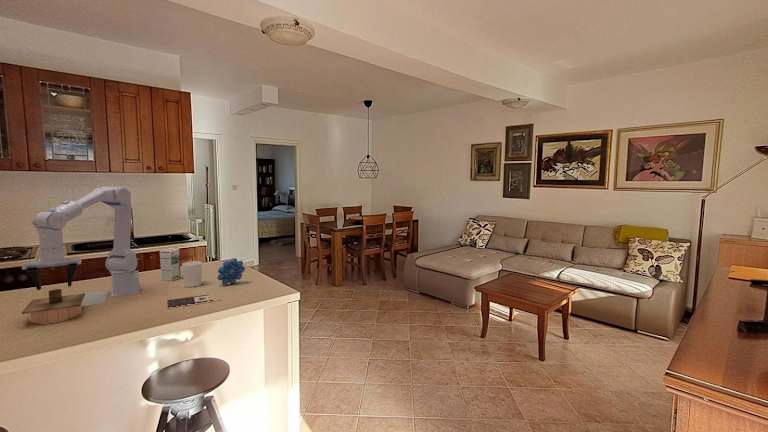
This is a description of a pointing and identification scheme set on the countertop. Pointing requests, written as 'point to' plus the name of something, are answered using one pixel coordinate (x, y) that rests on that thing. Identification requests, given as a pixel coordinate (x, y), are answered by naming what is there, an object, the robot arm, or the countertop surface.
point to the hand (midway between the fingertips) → (54, 287)
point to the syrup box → (170, 264)
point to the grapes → (231, 271)
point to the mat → (94, 298)
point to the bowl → (55, 315)
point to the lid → (54, 302)
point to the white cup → (192, 273)
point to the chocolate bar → (187, 300)
